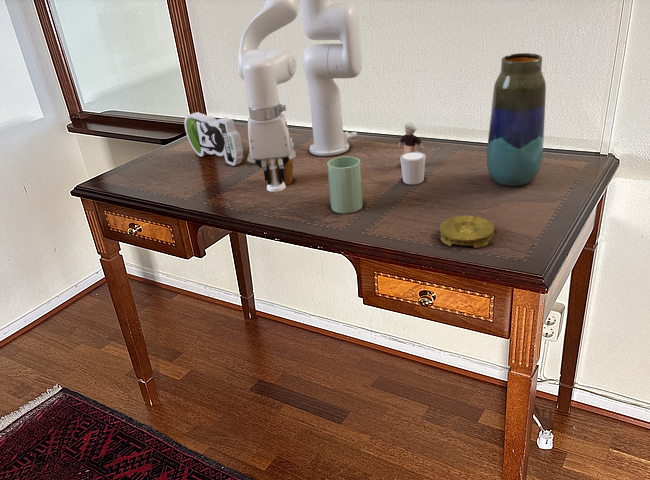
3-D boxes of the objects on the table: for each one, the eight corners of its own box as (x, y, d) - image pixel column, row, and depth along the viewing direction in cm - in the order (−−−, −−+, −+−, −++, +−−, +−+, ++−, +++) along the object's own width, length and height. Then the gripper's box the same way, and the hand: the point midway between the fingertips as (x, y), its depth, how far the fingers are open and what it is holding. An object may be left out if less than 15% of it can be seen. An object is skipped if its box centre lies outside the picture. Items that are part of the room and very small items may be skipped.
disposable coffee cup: (283, 172, 187) (277, 133, 180) (305, 179, 181) (300, 138, 174) (258, 183, 182) (252, 143, 175) (280, 190, 176) (274, 149, 169)
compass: (434, 245, 141) (434, 237, 140) (445, 222, 150) (445, 214, 149) (489, 250, 137) (490, 241, 136) (497, 226, 146) (497, 217, 145)
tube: (351, 197, 168) (348, 153, 161) (368, 206, 161) (366, 162, 155) (325, 205, 164) (321, 162, 158) (341, 216, 158) (338, 171, 152)
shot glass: (429, 176, 174) (429, 152, 171) (421, 186, 169) (421, 161, 166) (405, 174, 177) (404, 150, 173) (397, 184, 172) (396, 159, 168)
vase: (549, 176, 167) (563, 53, 150) (523, 195, 159) (535, 66, 142) (502, 167, 175) (509, 49, 158) (475, 184, 167) (480, 61, 150)
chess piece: (283, 191, 162) (277, 154, 156) (264, 191, 163) (258, 155, 157) (287, 183, 166) (282, 147, 160) (269, 183, 167) (264, 147, 161)
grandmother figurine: (396, 167, 182) (394, 124, 175) (399, 162, 185) (398, 120, 178) (422, 169, 179) (422, 125, 173) (425, 164, 182) (425, 120, 176)
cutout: (239, 121, 188) (188, 104, 202) (232, 124, 186) (181, 106, 201) (245, 168, 197) (195, 149, 211) (238, 171, 195) (188, 151, 209)
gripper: (298, 104, 156) (306, 173, 166) (234, 110, 157) (246, 179, 167) (297, 113, 150) (306, 185, 160) (230, 120, 150) (243, 191, 161)
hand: (275, 181), depth 163 cm, fingers closed on chess piece
